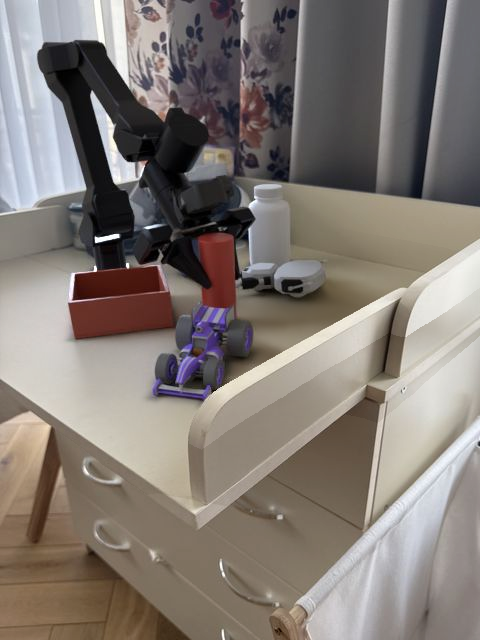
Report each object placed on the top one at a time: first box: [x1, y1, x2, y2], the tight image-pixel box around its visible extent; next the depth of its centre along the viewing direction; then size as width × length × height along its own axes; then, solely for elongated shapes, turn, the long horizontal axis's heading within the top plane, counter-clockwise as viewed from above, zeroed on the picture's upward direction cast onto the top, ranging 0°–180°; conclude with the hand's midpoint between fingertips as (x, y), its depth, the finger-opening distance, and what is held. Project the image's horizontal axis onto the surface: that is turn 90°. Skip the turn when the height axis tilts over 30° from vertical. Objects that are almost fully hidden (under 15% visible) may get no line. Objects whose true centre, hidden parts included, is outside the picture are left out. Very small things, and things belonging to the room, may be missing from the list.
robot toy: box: [235, 259, 329, 299], centre depth 93 cm, size 12×4×15 cm
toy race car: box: [152, 300, 254, 403], centre depth 68 cm, size 10×15×6 cm, turn 165°
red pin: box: [198, 233, 238, 320], centre depth 79 cm, size 5×5×13 cm
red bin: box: [67, 264, 174, 340], centre depth 84 cm, size 13×14×6 cm
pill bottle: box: [248, 183, 291, 267], centre depth 103 cm, size 8×8×15 cm
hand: (223, 283), depth 78 cm, fingers closed on red pin, 5 cm apart
